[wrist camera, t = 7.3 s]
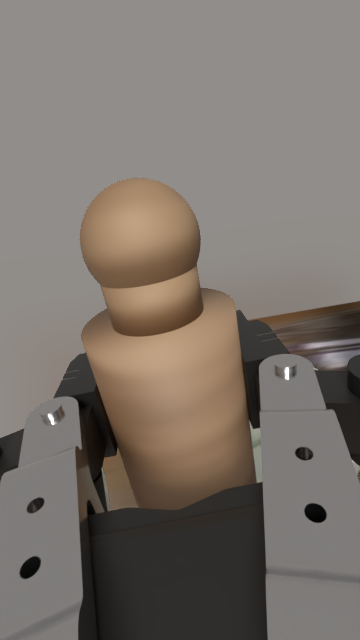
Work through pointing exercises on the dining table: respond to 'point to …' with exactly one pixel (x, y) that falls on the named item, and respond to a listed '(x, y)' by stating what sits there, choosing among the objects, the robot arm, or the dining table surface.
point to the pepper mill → (164, 349)
